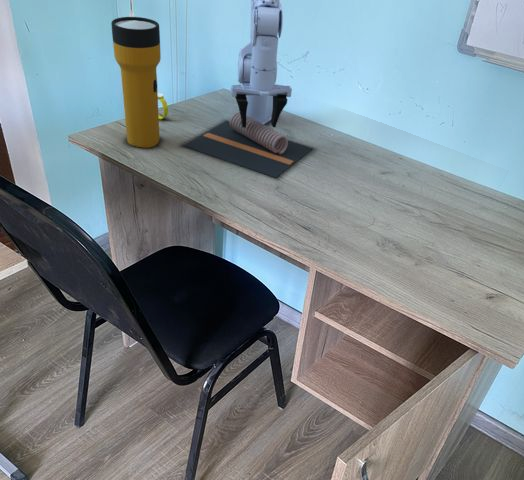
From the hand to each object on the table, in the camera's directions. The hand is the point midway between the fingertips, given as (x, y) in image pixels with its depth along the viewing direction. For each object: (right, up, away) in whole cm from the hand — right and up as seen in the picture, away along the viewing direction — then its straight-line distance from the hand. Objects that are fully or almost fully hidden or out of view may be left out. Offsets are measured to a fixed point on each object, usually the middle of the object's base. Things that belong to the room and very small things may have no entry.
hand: (258, 125), depth 133 cm
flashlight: (-28, -5, -2) cm, 29 cm away
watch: (-27, +6, +9) cm, 29 cm away
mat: (-2, -5, 0) cm, 6 cm away
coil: (0, -3, +3) cm, 4 cm away
